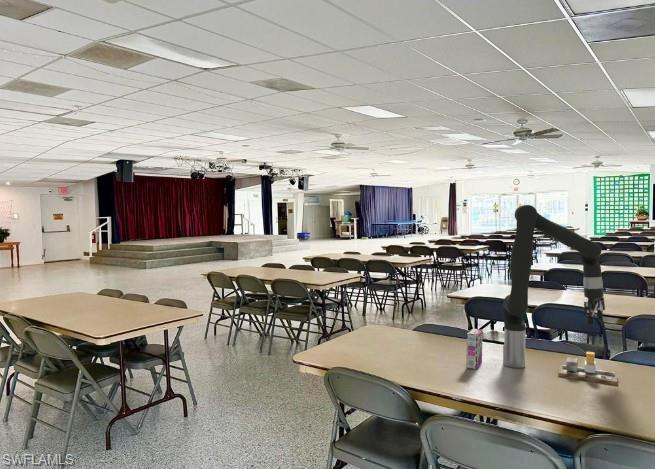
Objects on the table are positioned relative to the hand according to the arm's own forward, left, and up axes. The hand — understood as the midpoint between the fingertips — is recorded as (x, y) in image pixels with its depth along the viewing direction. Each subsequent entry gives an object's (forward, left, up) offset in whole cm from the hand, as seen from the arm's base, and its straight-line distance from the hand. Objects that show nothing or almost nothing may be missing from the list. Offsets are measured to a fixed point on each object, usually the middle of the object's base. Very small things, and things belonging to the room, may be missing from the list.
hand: (595, 322), depth 211 cm
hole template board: (-3, -10, -22) cm, 25 cm away
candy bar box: (-49, -19, -22) cm, 57 cm away
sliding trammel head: (-2, -10, -20) cm, 22 cm away
